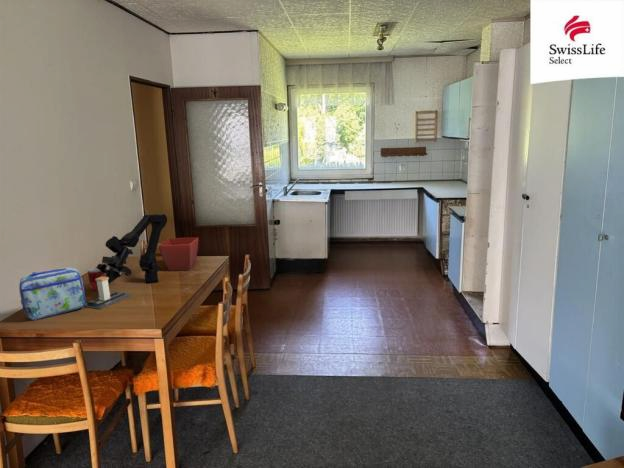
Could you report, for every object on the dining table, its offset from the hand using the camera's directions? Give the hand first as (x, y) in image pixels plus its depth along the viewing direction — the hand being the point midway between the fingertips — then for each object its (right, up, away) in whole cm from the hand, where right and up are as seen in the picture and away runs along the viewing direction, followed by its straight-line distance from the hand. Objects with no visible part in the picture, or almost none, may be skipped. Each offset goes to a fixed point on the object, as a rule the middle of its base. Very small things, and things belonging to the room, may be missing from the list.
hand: (106, 284), depth 233 cm
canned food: (-14, -5, +21) cm, 26 cm away
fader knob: (-1, -7, 0) cm, 7 cm away
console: (0, -8, +2) cm, 8 cm away
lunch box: (-18, -12, -12) cm, 25 cm away
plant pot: (+23, +4, +54) cm, 59 cm away
